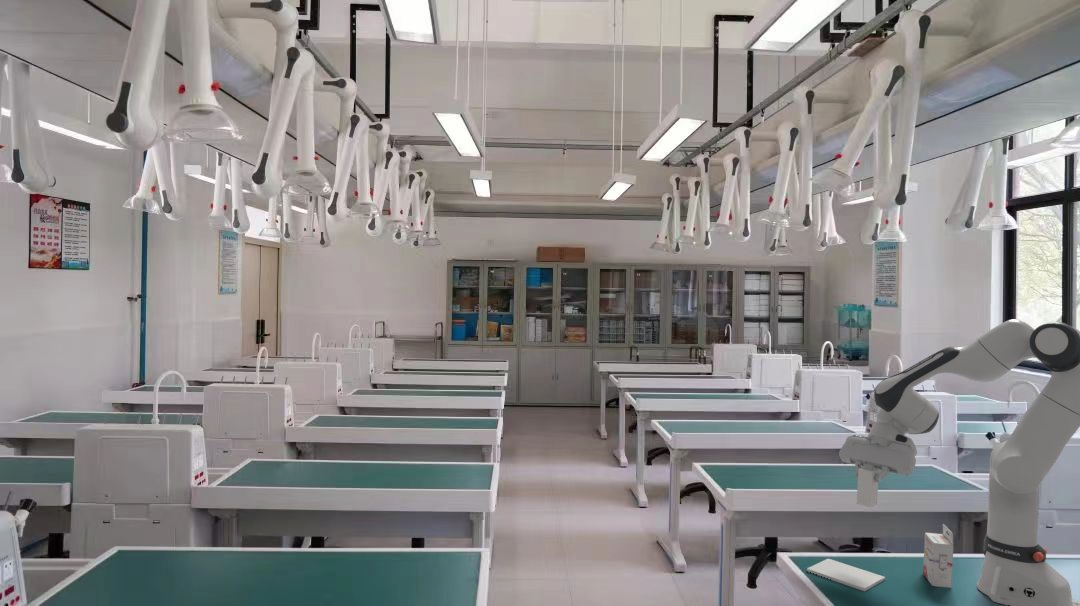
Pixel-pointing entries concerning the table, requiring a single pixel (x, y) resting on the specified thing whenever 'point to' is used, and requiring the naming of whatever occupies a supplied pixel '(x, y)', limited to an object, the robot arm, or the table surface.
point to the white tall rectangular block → (867, 486)
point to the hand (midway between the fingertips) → (867, 478)
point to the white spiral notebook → (846, 574)
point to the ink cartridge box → (938, 558)
